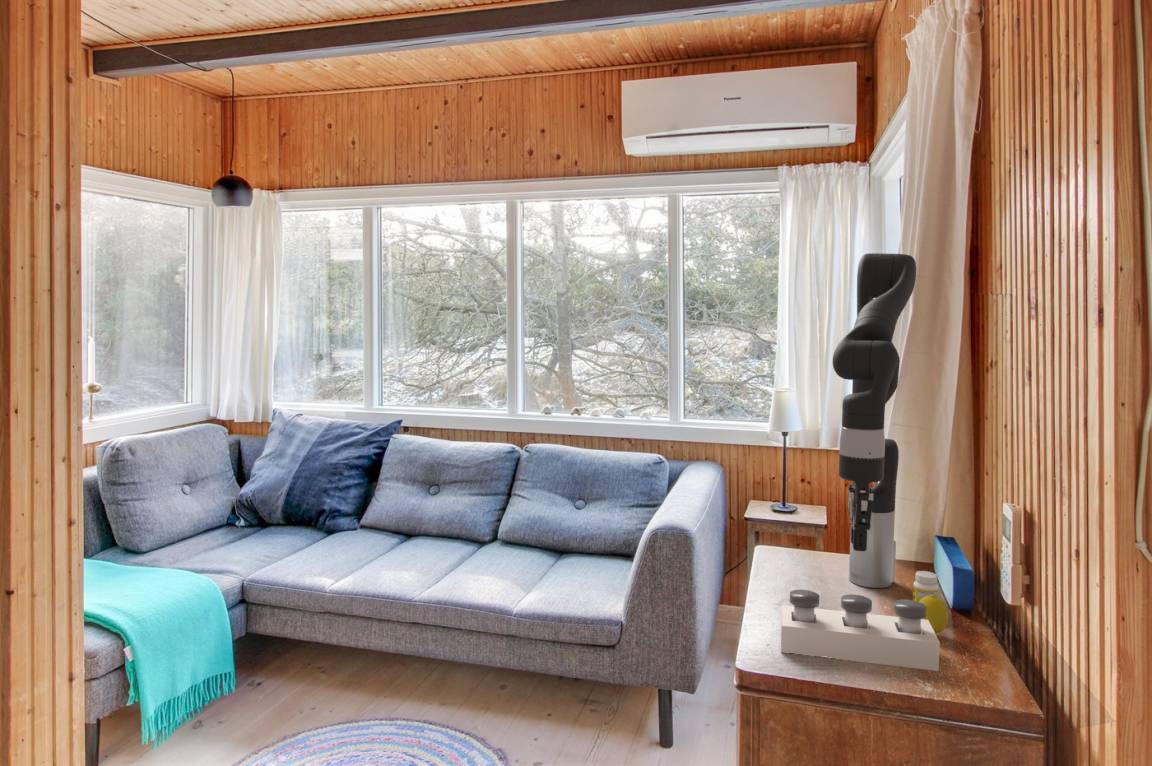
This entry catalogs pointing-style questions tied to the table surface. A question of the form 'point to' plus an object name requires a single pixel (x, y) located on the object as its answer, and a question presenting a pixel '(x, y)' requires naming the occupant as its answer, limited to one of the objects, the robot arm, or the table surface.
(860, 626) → the knob middle
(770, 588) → the table surface
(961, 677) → the table surface
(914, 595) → the supplement bottle
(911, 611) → the knob
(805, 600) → the knob
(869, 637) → the knob panel
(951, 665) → the table surface
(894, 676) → the table surface
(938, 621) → the lemon
